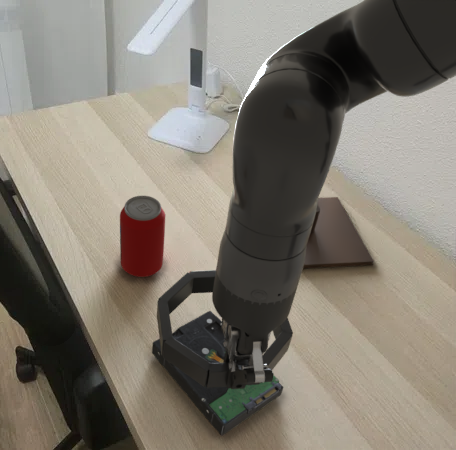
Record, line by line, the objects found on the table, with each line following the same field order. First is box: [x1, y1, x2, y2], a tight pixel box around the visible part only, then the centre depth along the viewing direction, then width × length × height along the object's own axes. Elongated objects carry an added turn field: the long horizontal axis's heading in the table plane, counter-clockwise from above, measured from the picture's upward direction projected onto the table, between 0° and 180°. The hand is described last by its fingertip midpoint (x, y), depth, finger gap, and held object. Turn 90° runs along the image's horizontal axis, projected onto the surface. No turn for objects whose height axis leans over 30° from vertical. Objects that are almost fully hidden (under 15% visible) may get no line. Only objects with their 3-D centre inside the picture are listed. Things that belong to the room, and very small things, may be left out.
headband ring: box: [156, 269, 294, 388], centre depth 66 cm, size 15×15×3 cm
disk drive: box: [151, 310, 284, 437], centre depth 72 cm, size 10×3×15 cm
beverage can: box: [119, 195, 166, 278], centre depth 84 cm, size 7×7×12 cm
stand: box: [303, 196, 375, 269], centre depth 93 cm, size 17×17×6 cm
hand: (233, 377), depth 62 cm, fingers closed on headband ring, 1 cm apart
